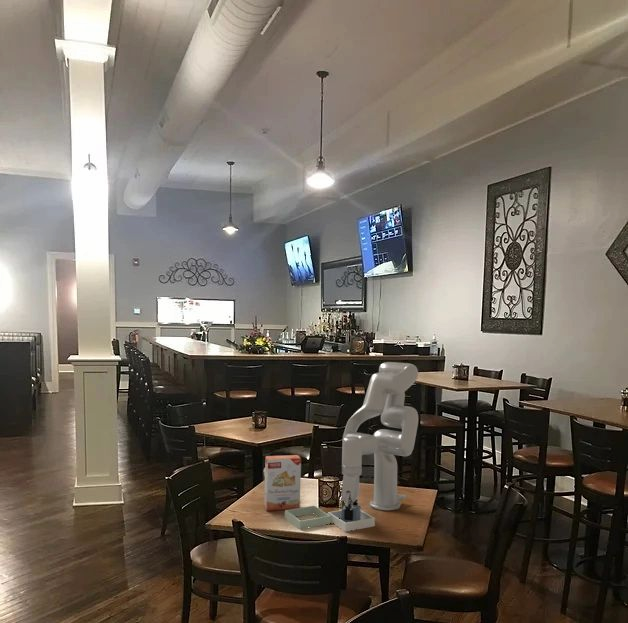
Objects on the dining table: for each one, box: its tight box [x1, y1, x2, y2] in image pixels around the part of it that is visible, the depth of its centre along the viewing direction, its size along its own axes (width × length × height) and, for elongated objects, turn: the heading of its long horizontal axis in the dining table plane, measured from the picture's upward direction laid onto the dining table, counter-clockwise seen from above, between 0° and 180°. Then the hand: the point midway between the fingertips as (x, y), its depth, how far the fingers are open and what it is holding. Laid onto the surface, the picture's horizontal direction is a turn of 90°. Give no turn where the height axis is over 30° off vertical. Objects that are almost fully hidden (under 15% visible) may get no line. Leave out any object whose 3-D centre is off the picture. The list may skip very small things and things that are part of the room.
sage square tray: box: [284, 505, 332, 530], centre depth 211 cm, size 13×13×3 cm
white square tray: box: [327, 509, 376, 533], centre depth 210 cm, size 13×13×3 cm
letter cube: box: [340, 504, 362, 523], centre depth 210 cm, size 6×6×6 cm
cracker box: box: [263, 454, 302, 512], centre depth 226 cm, size 14×6×21 cm, turn 105°
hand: (350, 516), depth 210 cm, fingers open, 7 cm apart
